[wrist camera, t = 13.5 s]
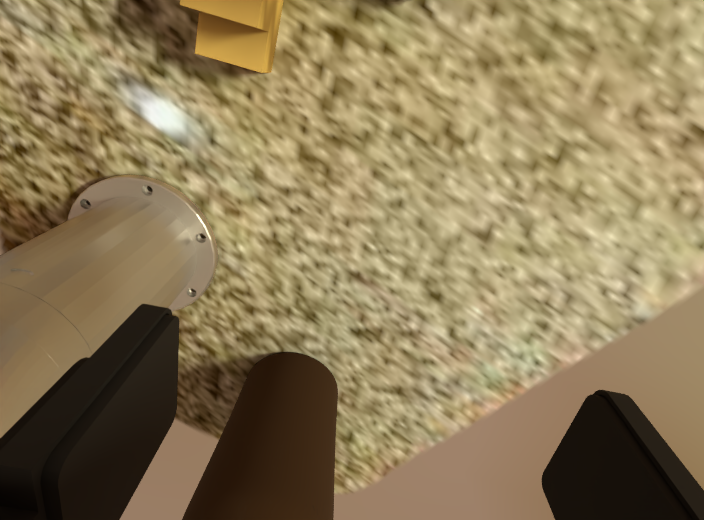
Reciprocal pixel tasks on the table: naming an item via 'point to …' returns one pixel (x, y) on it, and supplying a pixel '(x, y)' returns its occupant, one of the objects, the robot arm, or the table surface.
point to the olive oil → (274, 447)
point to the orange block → (238, 31)
